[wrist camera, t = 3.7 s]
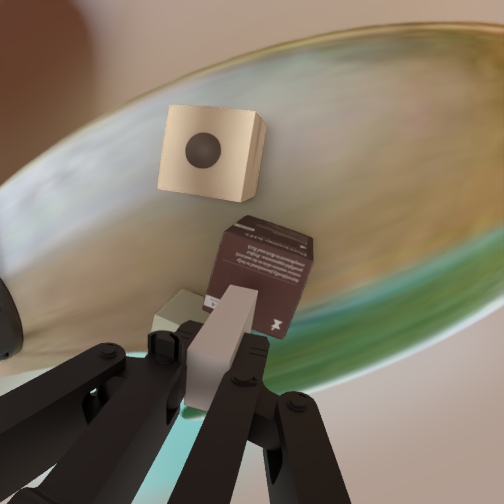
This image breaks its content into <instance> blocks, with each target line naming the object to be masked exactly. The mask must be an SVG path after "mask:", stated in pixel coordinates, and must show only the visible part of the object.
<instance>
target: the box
mask: <svg viewBox="0 0 504 504" xmlns="http://www.w3.org/2000/svg"><path fill="white" fill-rule="evenodd" d="M313 258H314V257H313V239H312V238H311V237H309V236H306V235H303V234H301V233H298V232H295V231H293V230H290V229H287V228H285V227H282V226H279V225H276V224H273V223H270V222H267V221H264V220H261V219H257V218H255V217H252V216H249V215H247V216H245V217H243V218H242V219H241V220H239V221H238V222H237V223H235V224H234V225H232V226H231V227H230V228H228V229H227V230H226V231H224V232H223V236H222V239H221V242H220V245H219V249H218V253H217V256H216V260H215V264H214V267H213V271H212V274H211V278H210V281H209V285H208V289H207V292H206V296H205V299H204V303H203V306H202V311H204V312H207V313H209V314H211V313H212V311H213V310H214V308H215V307H216V305H217V304H218V302H219V301H220V299H221V298H222V296H223V295H224V293H225V292H226V290H227V289H228V287H229V286H230V285H234V286H239V287H243V288H248V289H253V290H258V294H257V300H256V305H255V311H254V316H253V322H252V327H251V329H253V330H256V331H258V332H261V333H264V334H267V335H269V336H272V337H275V338H278V339H284V337H285V335H286V332H287V330H288V327H289V325H290V322H291V320H292V317H293V315H294V312H295V310H296V308H297V305H298V303H299V300H300V298H301V295H302V292H303V290H304V287H305V284H306V281H307V278H308V276H309V273H310V270H311V268H312V265H313Z"/></svg>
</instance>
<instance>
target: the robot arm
mask: <svg viewBox="0 0 504 504" xmlns="http://www.w3.org/2000/svg"><path fill="white" fill-rule="evenodd" d="M257 294H258V290H253V289H248V288H243V287H239V286H234V285H230V286H229V287H228V289H227V290H226V292H225V293H224V295H223V296H222V298H221V299H220V301H219V302H218V304H217V305H216V307H215V308H214V310H213V311H212V313H211V314H210V316H209V317H208V319H207V320H206V322H205V323H200V322H196V321H192V320H189V321H186V322H184V323H182V324H181V325H180V326H179V328H178V329H177V331H175V332H172V331H167V330H158V331H154V332H151V333H150V334H148V354H147V355H146V356H145V358H136V357H128V356H126V353H125V350H124V349H123V348H122V347H121V346H120V345H117V344H115V343H101V344H98V345H96V346H94V347H92V348H90V349H88V350H86V351H85V352H83V353H81V354H79V355H77V356H75V357H73V358H71V359H70V360H68V361H66V362H64V363H62V364H60V365H58V366H57V367H55V368H53V369H51V370H49V371H47V372H45V373H43V374H42V375H40V376H38V377H36V378H34V379H32V380H30V381H28V382H27V383H25V384H23V385H21V386H19V387H17V388H15V389H14V390H11V391H10V392H8V393H6V394H4V395H2V396H0V502H2V501H3V500H5V499H6V498H8V497H9V496H11V495H12V494H13V493H15V492H17V491H18V490H19V491H18V492H17V493H15V495H14V496H13V497H12V498H11V499H10V501H9V502H8V503H7V504H131V503H132V501H133V499H134V497H135V495H136V494H137V492H138V490H139V488H140V486H141V484H142V482H143V481H144V479H145V477H146V475H147V473H148V471H149V469H150V468H151V466H152V464H153V462H154V460H155V458H156V456H157V455H158V453H159V451H160V449H161V447H162V445H163V443H164V441H165V439H166V437H167V436H168V434H169V432H170V430H171V428H172V426H173V424H174V423H175V420H176V419H177V417H178V415H179V412H180V403H181V401H182V399H183V398H184V405H186V406H190V407H193V408H197V409H200V410H204V411H207V414H206V417H205V419H204V421H203V424H202V426H201V429H200V431H199V433H198V435H197V438H196V440H195V442H194V444H193V447H192V449H191V451H190V454H189V456H188V458H187V460H186V463H185V465H184V467H183V469H182V471H181V474H180V476H179V478H178V480H177V483H176V485H175V487H174V489H173V492H172V494H171V496H170V498H169V501H168V503H167V504H230V501H231V497H232V494H233V490H234V487H235V483H236V479H237V476H238V472H239V468H240V465H241V461H242V457H243V453H244V450H245V446H246V442H247V440H248V441H250V442H252V443H254V444H256V445H258V446H260V447H262V448H263V456H264V463H265V471H266V478H267V485H268V492H269V498H270V504H351V501H350V498H349V495H348V492H347V490H346V487H345V484H344V481H343V478H342V475H341V472H340V469H339V466H338V463H337V461H336V458H335V455H334V452H333V449H332V446H331V444H330V441H329V438H328V435H327V432H326V429H325V426H324V423H323V421H322V418H321V415H320V412H319V409H318V407H317V404H316V402H315V401H314V399H313V398H311V397H310V396H309V395H307V394H304V393H302V392H296V391H291V392H286V393H284V394H281V396H279V395H277V394H275V393H273V392H271V391H270V390H268V389H267V388H266V387H265V385H264V384H263V381H262V377H263V372H264V368H265V364H266V359H267V355H268V350H269V346H270V343H269V341H268V339H267V337H264V336H259V335H254V334H250V332H251V327H252V322H253V316H254V311H255V305H256V300H257ZM22 340H23V338H22V329H21V324H20V320H19V317H18V314H17V311H16V308H15V305H14V303H13V301H12V299H11V296H10V294H9V293H8V291H7V289H6V287H5V286H4V284H3V282H2V281H1V280H0V360H4V359H8V358H11V357H12V356H13V355H15V354H16V353H18V352H19V351H20V349H21V347H22ZM95 388H96V391H95V392H94V393H90V392H91V391H92V390H94V389H95ZM55 464H56V465H55ZM54 465H55V467H54V468H53V469H52V470H51V472H50V473H49V474H48V476H47V477H46V478H45V479H44V480H43V482H42V483H41V484H40V485H39V486H38V487H36V488H29V487H25V488H23V489H21V488H22V487H24V486H25V485H27V484H28V483H30V482H31V481H32V480H34V479H35V478H37V477H38V476H40V475H41V474H43V473H44V472H45V471H47V470H48V469H49V468H51V467H52V466H54Z"/></svg>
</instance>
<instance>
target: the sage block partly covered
mask: <svg viewBox="0 0 504 504" xmlns="http://www.w3.org/2000/svg"><path fill="white" fill-rule="evenodd" d="M204 299H205V298H204V297H202V296H200V295H197V294H195V293H192V292H190V291H188V290H185V289H183V288H182V289H181V290H180V291H179V292H178V293H177V294H176V295H175V296H174V297H172V298H171V299H170V300H169V301H168V302H167V303H166V304H165V305H164V306H163V307H162V308H161V309H160V310H159V311H158V312H157V313H155V315H154V320H153V325H152V329H151V332H154V331H158V330H167V331H172V332H175V331H177V329H178V328H179V326H180V325H181V324H182V323H184V322H186V321H189V320H192V321H196V322H200V323H205V322H206V320H207V319H208V317H209V316H210V314H209V313H207V312H204V311H202V306H203V303H204ZM147 354H148V349H147ZM147 354H146V355H147Z"/></svg>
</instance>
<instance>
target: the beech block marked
mask: <svg viewBox="0 0 504 504" xmlns="http://www.w3.org/2000/svg"><path fill="white" fill-rule="evenodd" d="M266 129H267V125H266V123H265V122H264V121H263V120H262V119H261V117H260V116H259V115H258V114H257V113H256V111H248V110H239V109H230V108H219V107H206V106H191V105H170V106H169V111H168V117H167V123H166V129H165V135H164V141H163V148H162V155H161V162H160V169H159V177H158V185H157V189H160V190H167V191H174V192H180V193H187V194H193V195H199V196H205V197H211V198H217V199H223V200H229V201H235V202H243V201H245V200H248V199H250V198H252V197H255V195H256V189H257V183H258V177H259V171H260V165H261V159H262V153H263V147H264V141H265V135H266Z"/></svg>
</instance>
